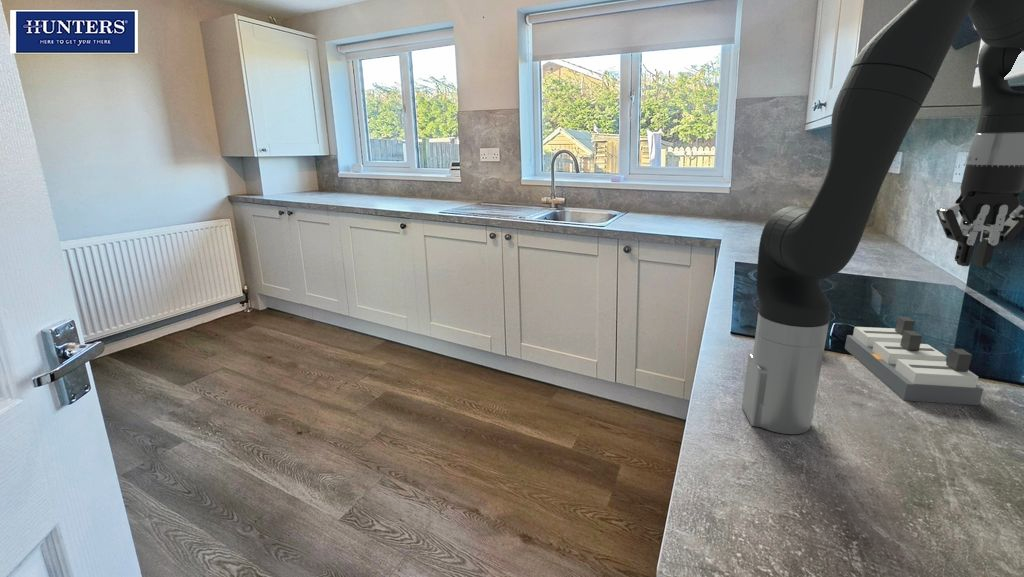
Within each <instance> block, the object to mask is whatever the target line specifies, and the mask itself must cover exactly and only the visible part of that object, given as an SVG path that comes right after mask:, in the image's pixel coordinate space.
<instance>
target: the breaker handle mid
mask: <svg viewBox="0 0 1024 577" xmlns="http://www.w3.org/2000/svg"><path fill="white" fill-rule="evenodd" d="M922 338H923V335H922V334H921V333H918V332H917V331H916V330H913V331H905V330H903V335H902V339H901V344H900V346H902V347H903V348H905V349H906V350H907V351H919V348H920V344H922Z"/></svg>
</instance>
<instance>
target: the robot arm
mask: <svg viewBox="0 0 1024 577" xmlns="http://www.w3.org/2000/svg"><path fill="white" fill-rule="evenodd" d="M967 16H968V17H969V19H970V21H971V23H972V24H973V27H974V28H975V31H976V32H977V34H978V37H979V38H980V39H981V40H982V42H983V45H982V46H981V48H980V50H979V54H978V59H977V66H978V76H979V80H980V99H981V100H980V101H981V102H980V104H981V105H980V112H979V117H978V121H977V126H976V129H975V134H974V137H973V138H972V142H971V144H970V147H969V150H968V154H967V158H966V162H965V168H964V171H963V176H962V180H961V184H960V195H959V196H958V197H957V199H956V200H955V201H954V204H952V205H949V206H947V207H938V208H937V209H936V211H935V212H936V215H937V217H938V220H939V222H940V224H941V227H942V229H943V232H944V234H945V236H946V239H950V240H952V241H955V242H956V243H957V247H956V251H955V256H954V262H956V264H957V265H958V266H962V267H969V266H970V265H971V262H972V261H973V262H972V264H973V265H974V266H977V267H980V268H981V267H982V268H984V267H987V265H988V264H990V263H991V261H992V257H993V254H994V250H995V246H997V245H998V244H1000V243H1010V242H1011V241H1012V240H1013V239H1014V237H1016V236H1017V235H1018V233H1019V232H1020V231H1021V230H1023V228H1024V205H1023V206H1022V205H1021V200H1020V197H1019V195H1020V193H1021V192H1022V191H1023V190H1024V91H1019V90H1018V91H1017V90H1014V89H1012V88H1011V86H1010V84H1009V79H1008V80H1004V77H1005V76H1006V75H1007V74H1008V73H1009V72H1010V71H1011V69H1012V67H1013V65H1014V63H1015V61H1016V59H1017V57H1018V55H1019V54H1020V53H1021V51H1022V50H1021V49H1023V50H1024V0H912V1H911V2H910V3H909V4H907V6H905V7H904V8H903V9H902V10H901V11H900V12H899V13H898V14H897V15H896V16H894V17H893V18H892V19H891V20H890V21H889V22H888V23H887V24H885V25H884V26H883V28H881V29H880V30H879V31H878V32H877V33H876V34H875V35H873V37H872V38H871V39H870V40H869V41H868V42H867V43H866V45H864V46H863V47H862V49H861V50H860V52H859V53H858V55H857V56H856V58H855V59H854V61H853V62H852V64H851V67H850V69H849V71H848V73H847V75H846V77H845V80H844V82H843V84H842V86H841V88H840V91H839V93H838V94H837V97H836V99H835V102H834V105H833V107H832V108H833V109H832V114H831V120H830V122H831V125H830V160H829V165H828V168H827V171H826V175H825V178H824V180H823V182H822V184H821V185H820V188H819V190H818V193H817V194H816V196H815V199H814V200H813V201H812V204H811V205H810V207H809V206H804V205H803V206H802V205H791V206H786V207H784V208H781V209H779V210H777V211H775V213H774V214H772V215H771V216H770V217H769V219H768V220H767V221H766V223H765V225H764V228H763V229H762V232H761V235H760V240H759V246H758V255H757V256H758V257H757V265H756V266H757V270H756V281H755V282H756V283H755V289H756V290H755V291H756V295H757V298H758V303H759V304H758V306H759V307H758V313H757V319H756V320H757V321H756V329H755V335H754V343H753V344H754V345H753V351H752V352H753V353H750V354H748V357H747V363H746V364H747V365H746V372H745V379H744V380H745V381H744V388H743V394H742V403H741V408H742V410H743V412H744V414H745V416H746V418H747V420H748V422H749V424H750V425H751V426H752V427H759V428H762V429H765V430H768V431H770V432H773V433H779V434H782V435H799V434H804V433H806V432H808V431H809V430H810V429H811V427H812V421H813V418H814V411H815V406H816V398H817V394H818V393H817V392H818V387H819V381H820V376H821V371H822V364H823V358H824V353H825V346H826V341H827V335H828V330H829V326H830V324H829V323H830V319H831V314H832V304H831V302H830V300H829V299H828V297H827V296H826V294H825V293H824V291H823V290H822V288H821V285H820V282H819V280H826V279H829V278H832V277H834V276H835V275H837V274H839V273H840V271H842V270H843V269H845V267H846V266H847V265H848V264H849V263H850V261H851V260H852V258H853V256H854V254H855V253H856V250H857V248H858V247H859V244H860V242H861V239H862V237H863V235H864V234H863V233H864V231H865V229H866V227H867V223H868V221H869V218H870V216H871V214H872V211H873V208H874V205H875V202H876V200H877V198H878V195H879V192H880V190H881V188H882V184H883V183H884V181H885V178H886V177H887V175H888V172H889V171H890V169H891V166H892V164H893V163H894V159H895V158H896V156H897V155H898V151H899V150H900V148H901V145H902V144H903V141H904V139H905V137H906V136H907V134H908V132H909V130H910V128H911V125H912V124H913V122H914V120H915V119H916V116H917V114H918V113H919V111H920V109H921V108H922V105H923V104H924V102H925V100H926V99H927V95H928V94H929V92H930V90H931V88H932V86H933V84H934V83H935V80H936V78H937V75H938V73H939V72H940V69H941V67H942V65H943V62H944V60H945V58H946V56H947V54H948V52H949V51H950V49H951V47H952V45H953V43H954V41H955V38H956V36H957V35H958V33H959V31H960V29H961V27H962V25H963V24H964V22H965V20H966V18H967ZM1020 48H1021V49H1020ZM959 214H960V216H961V220H960V223H959V222H958V219H957V218H959ZM1008 216H1009V217H1008ZM979 232H980V238H979V241H980V243H979V242H977V244H976V245H977V246H976V248H975V242H976V239H977V237H978V234H979ZM974 249H975V252H974ZM973 252H974V253H973ZM973 254H974V258H973V260H972V257H973Z"/></svg>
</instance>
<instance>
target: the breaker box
mask: <svg viewBox="0 0 1024 577" xmlns="http://www.w3.org/2000/svg"><path fill="white" fill-rule="evenodd" d="M901 339H902V335H901V334H899V333H898V332H896V331H895V328H894V327H893V328H891V327H890V328H889V327H871V326H869V327H868V326H866V327H865V326H854V328H853V333H852V335H851V334H847V335H846V339H845V344H844V349H845V351H847V352H848V353H849V354H850V355H851V356H853V357H854V358H855V359H856V360H857V361H859V363H861V365H863V366H864V367H865V368H866V369H867V370H869V371H870V372H871V373H872V374H873V375H875V377H877V378H878V380H880V381H881V382H882V383H883V384H884V385H886V387H888V388H889V389H890V390H891V391H892V392H893V393H895V394H896V395H897V396H898V397H899V398H900V399H902V400H903V401H911V402H913V401H914V402H925V403H938V404H953V405H954V404H955V405H966V406H967V405H970V406H980V403H981V401H982V400H981V399H982V397H983V392H984V388H983V387H981V386H980V385H978V380H979V376H978V375H977V374H975V373H974V372H972V371H971V370H969V369H968V372H966V371H955V370H953V369H952V368H950V367H949V366H947V365H946V363H947V359H948V355H945V354H943V353H942V352H940V351H939V350H938V349H936V348H935V347H932V346H931V345H929V344H928V343H920V348H919V351H907V350H906V349H905V348H903V347H902V346H900V344H901Z"/></svg>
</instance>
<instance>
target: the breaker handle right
mask: <svg viewBox="0 0 1024 577" xmlns="http://www.w3.org/2000/svg"><path fill="white" fill-rule="evenodd" d="M972 357H973V354H972V353H970V352H968V351H966V350H965V349H963V348H949V350H948V355H947V358H946V362H947V363H946V365H947V366H949V367H950V368H952V369H953V370H955V371H966V372H968V370H969V369H970V364H971V361H972Z"/></svg>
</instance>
